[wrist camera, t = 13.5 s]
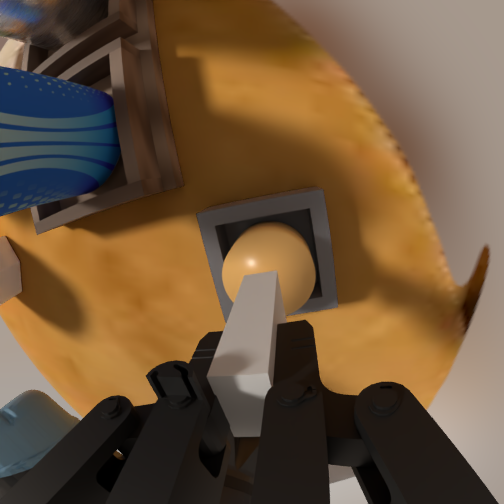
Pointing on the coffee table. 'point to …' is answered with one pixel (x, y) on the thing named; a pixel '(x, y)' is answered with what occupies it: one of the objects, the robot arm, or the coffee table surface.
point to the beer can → (52, 139)
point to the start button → (272, 262)
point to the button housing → (281, 210)
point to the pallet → (116, 108)
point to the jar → (9, 272)
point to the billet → (49, 20)
